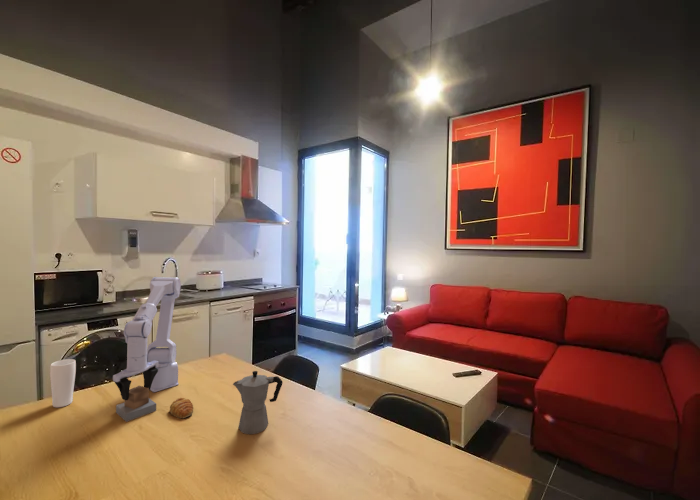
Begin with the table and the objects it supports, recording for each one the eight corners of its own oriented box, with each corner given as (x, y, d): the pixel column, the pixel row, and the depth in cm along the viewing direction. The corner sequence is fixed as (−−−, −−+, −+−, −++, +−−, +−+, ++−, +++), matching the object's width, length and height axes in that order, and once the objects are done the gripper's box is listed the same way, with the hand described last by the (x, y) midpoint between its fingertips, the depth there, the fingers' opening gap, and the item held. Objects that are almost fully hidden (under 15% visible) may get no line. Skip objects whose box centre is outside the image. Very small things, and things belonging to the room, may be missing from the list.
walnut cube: (139, 399, 112) (139, 385, 112) (148, 402, 111) (148, 388, 110) (124, 406, 108) (124, 391, 108) (134, 409, 106) (134, 394, 106)
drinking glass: (63, 409, 109) (63, 366, 109) (43, 408, 109) (44, 365, 109) (80, 400, 116) (81, 359, 115) (62, 399, 116) (62, 358, 115)
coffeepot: (230, 438, 96) (232, 379, 96) (232, 421, 105) (234, 367, 105) (282, 430, 101) (284, 374, 100) (280, 415, 110) (281, 363, 109)
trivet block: (145, 403, 116) (145, 395, 115) (156, 412, 110) (156, 403, 110) (115, 413, 108) (116, 405, 108) (126, 423, 103) (126, 414, 103)
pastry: (198, 414, 109) (198, 403, 109) (177, 422, 104) (177, 411, 104) (187, 404, 115) (187, 394, 115) (167, 411, 110) (167, 401, 110)
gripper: (149, 347, 117) (148, 383, 117) (106, 360, 104) (106, 401, 104) (162, 350, 115) (162, 387, 115) (121, 363, 101) (120, 406, 101)
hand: (136, 394), depth 109 cm, fingers open, 7 cm apart
